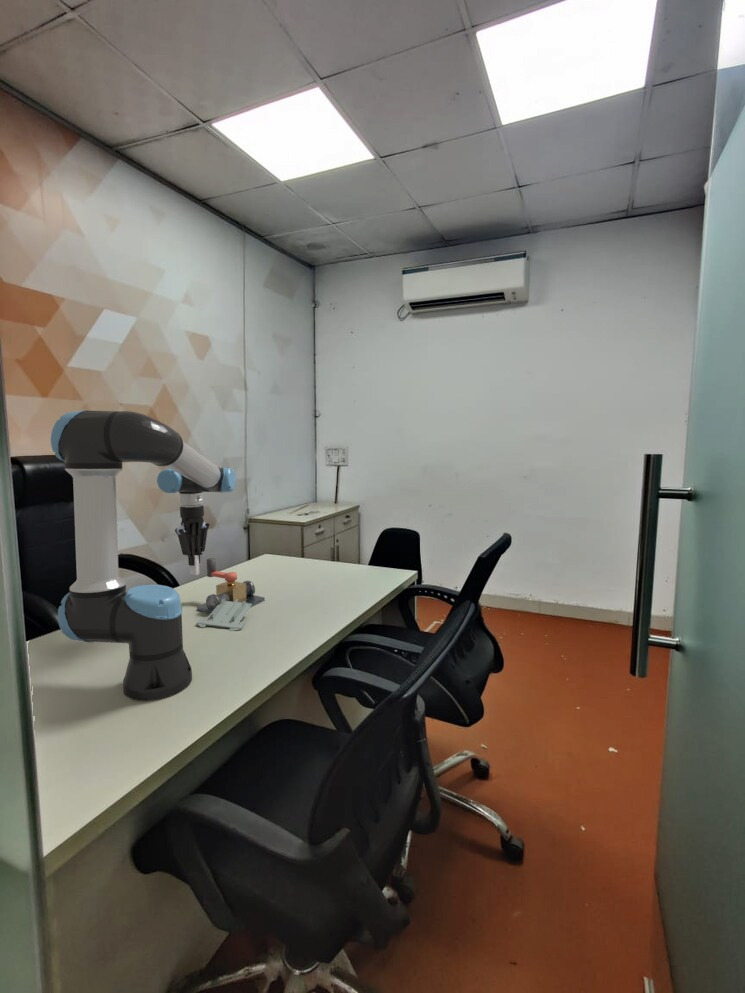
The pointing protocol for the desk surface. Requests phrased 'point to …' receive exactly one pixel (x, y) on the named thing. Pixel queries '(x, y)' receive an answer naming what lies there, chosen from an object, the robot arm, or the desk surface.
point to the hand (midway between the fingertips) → (194, 573)
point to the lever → (213, 573)
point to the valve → (231, 595)
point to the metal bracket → (226, 615)
